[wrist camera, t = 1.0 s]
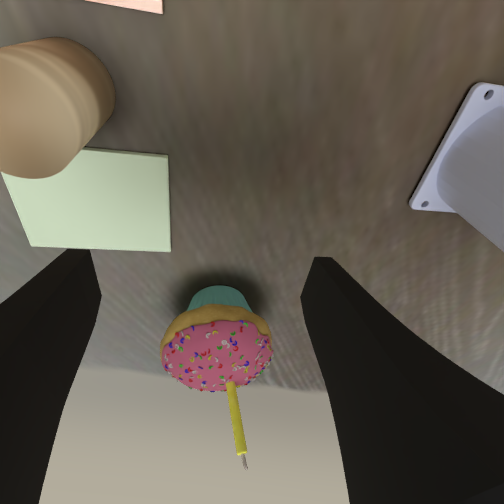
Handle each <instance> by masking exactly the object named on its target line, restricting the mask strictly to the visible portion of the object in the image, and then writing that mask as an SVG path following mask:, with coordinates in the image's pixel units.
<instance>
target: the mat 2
mask: <svg viewBox="0 0 504 504" xmlns="http://www.w3.org/2000/svg"><path fill="white" fill-rule="evenodd" d="M87 1H92V2H98V3H103V4H109V5H115V6H120V7H126V8H132V9H137V10H143V11H148V12H154V13H160V14H163V0H87Z"/></svg>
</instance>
